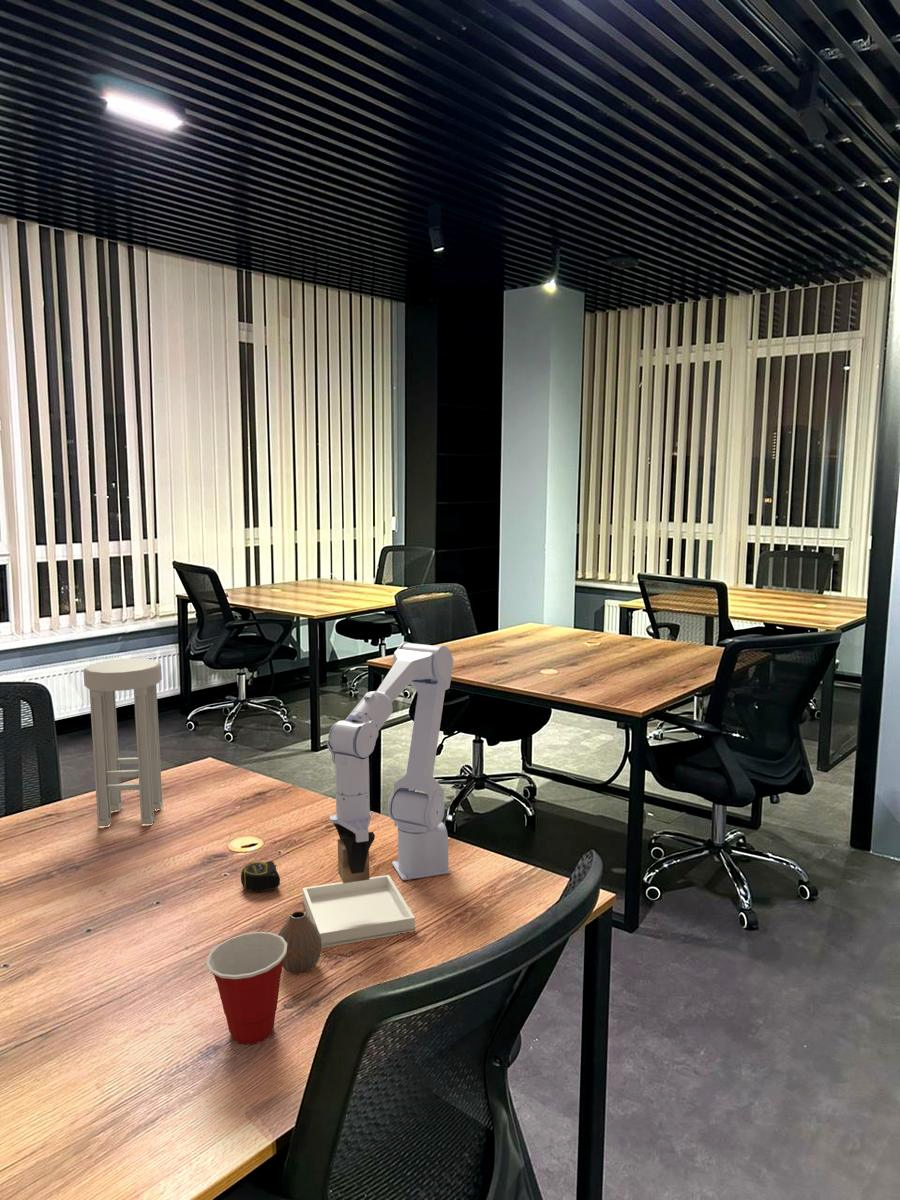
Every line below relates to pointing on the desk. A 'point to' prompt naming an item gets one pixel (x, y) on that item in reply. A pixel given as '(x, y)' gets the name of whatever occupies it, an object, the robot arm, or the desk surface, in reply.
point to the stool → (105, 739)
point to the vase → (300, 943)
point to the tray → (357, 910)
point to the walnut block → (345, 868)
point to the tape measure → (260, 876)
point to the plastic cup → (249, 982)
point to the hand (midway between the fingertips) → (354, 866)
